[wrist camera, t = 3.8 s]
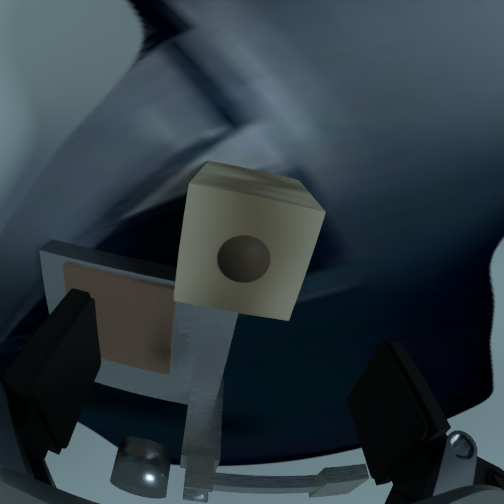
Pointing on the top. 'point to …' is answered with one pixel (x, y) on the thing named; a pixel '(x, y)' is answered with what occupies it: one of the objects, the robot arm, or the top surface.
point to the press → (152, 343)
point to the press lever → (220, 475)
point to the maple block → (245, 241)
